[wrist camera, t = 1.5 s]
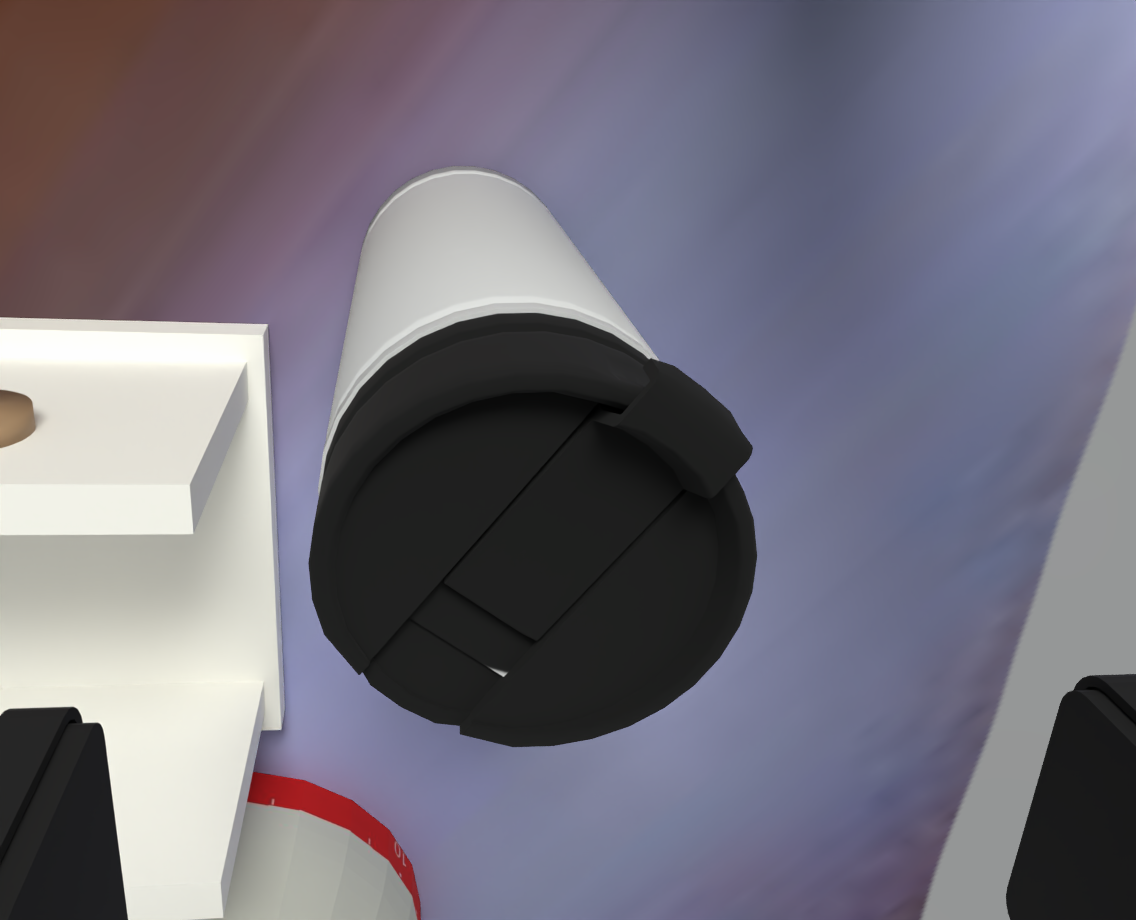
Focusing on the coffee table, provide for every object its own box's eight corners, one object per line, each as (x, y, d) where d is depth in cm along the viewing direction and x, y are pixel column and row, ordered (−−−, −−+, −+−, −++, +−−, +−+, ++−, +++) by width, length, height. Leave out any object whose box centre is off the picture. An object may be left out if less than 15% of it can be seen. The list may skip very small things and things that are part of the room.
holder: (-166, 313, 30) (-421, 446, 21) (268, 324, 32) (211, 451, 23) (-83, 719, 35) (-257, 970, 26) (285, 709, 37) (244, 939, 28)
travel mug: (614, 245, 33) (880, 538, 14) (481, 405, 34) (568, 857, 16) (453, 109, 30) (526, 250, 12) (318, 286, 32) (199, 651, 13)
